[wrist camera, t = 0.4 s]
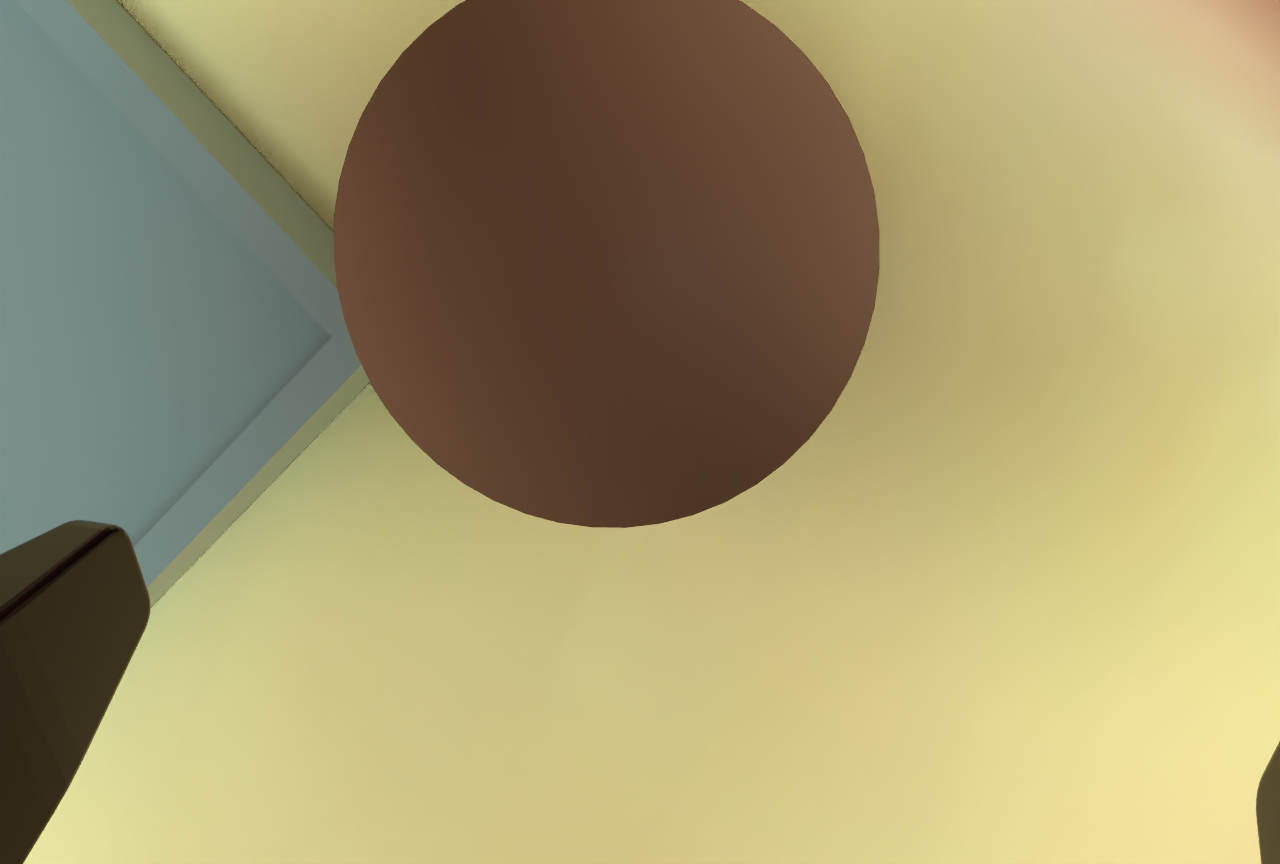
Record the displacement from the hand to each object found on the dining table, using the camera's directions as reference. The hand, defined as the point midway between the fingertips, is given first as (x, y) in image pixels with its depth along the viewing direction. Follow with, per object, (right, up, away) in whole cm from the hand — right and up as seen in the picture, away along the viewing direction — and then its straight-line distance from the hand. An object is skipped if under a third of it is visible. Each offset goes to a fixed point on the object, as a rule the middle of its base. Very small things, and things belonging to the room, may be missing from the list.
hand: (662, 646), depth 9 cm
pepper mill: (+2, +6, +14) cm, 15 cm away
